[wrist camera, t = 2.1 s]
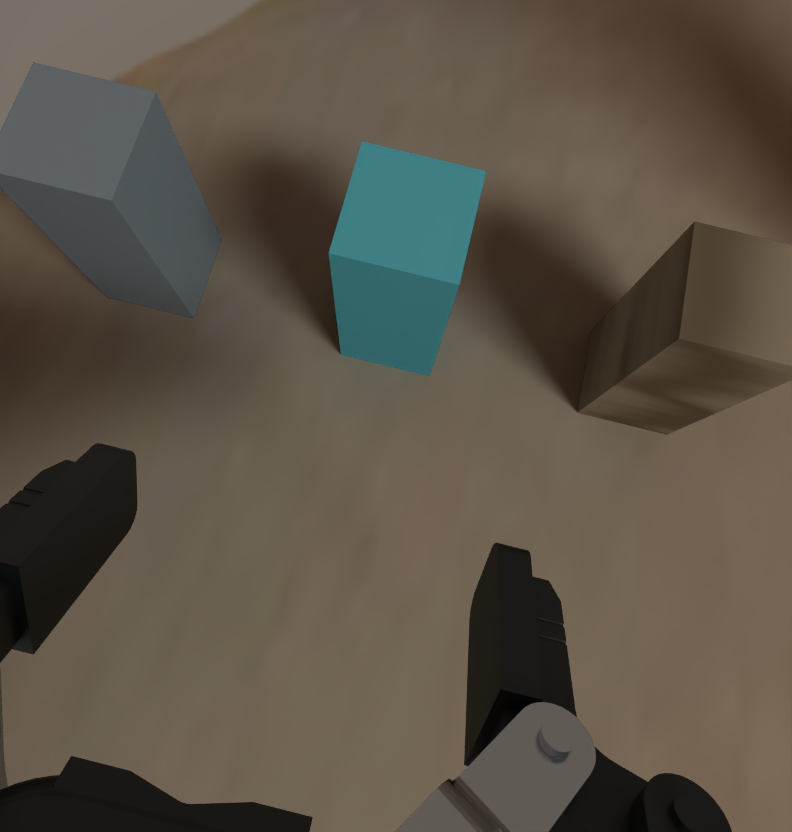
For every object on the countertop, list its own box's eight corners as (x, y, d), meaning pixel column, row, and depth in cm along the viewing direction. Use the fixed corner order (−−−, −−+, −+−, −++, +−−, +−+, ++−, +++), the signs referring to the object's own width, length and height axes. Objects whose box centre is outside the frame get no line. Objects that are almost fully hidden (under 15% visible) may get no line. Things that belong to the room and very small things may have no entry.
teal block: (448, 294, 31) (486, 171, 21) (429, 376, 30) (459, 285, 20) (363, 274, 31) (361, 141, 21) (340, 354, 30) (328, 253, 20)
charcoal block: (221, 239, 31) (155, 91, 21) (194, 318, 30) (111, 200, 20) (137, 218, 31) (33, 62, 21) (106, 297, 30) (-18, 169, 20)
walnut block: (678, 350, 31) (820, 252, 21) (666, 434, 30) (811, 370, 20) (591, 329, 31) (694, 221, 21) (577, 412, 30) (679, 338, 20)
